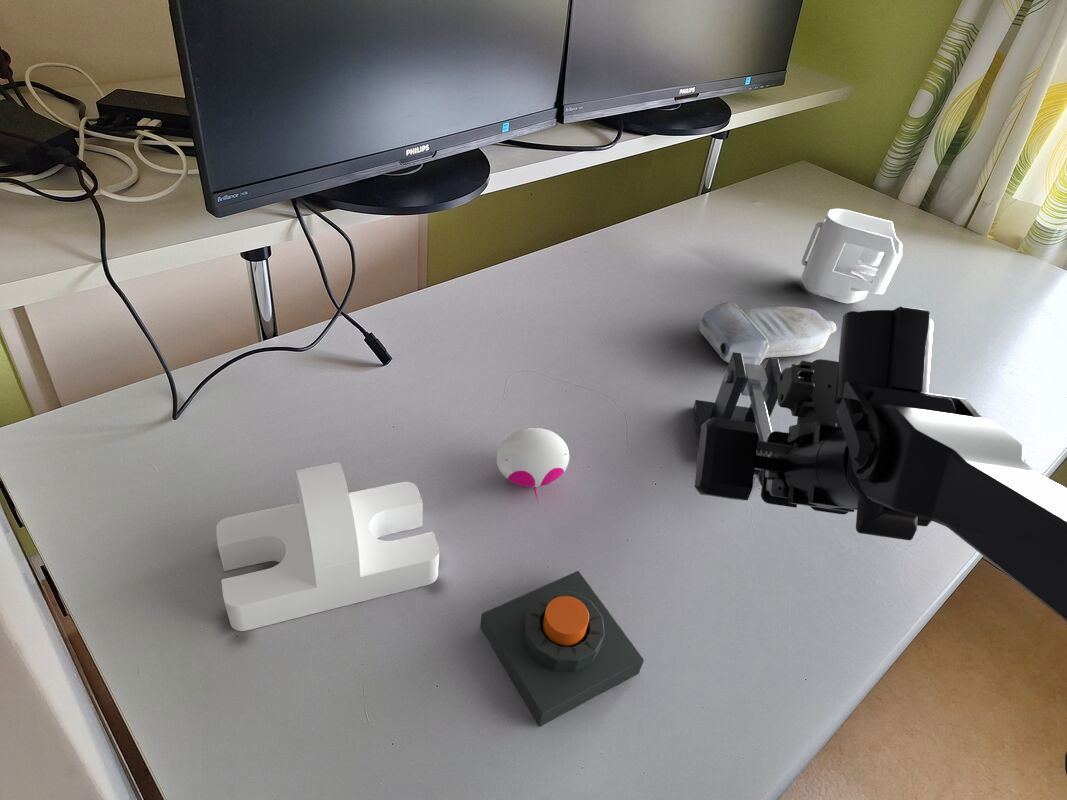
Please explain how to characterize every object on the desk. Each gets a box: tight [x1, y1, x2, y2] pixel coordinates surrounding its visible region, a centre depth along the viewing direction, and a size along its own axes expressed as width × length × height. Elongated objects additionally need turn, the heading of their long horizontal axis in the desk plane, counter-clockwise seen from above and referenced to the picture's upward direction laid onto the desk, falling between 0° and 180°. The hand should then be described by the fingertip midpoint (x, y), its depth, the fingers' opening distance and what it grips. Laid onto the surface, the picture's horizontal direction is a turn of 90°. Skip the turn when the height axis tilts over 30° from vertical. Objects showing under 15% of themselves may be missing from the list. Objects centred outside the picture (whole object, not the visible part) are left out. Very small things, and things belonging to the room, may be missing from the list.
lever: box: [740, 363, 773, 487], centre depth 76 cm, size 18×3×3 cm, turn 175°
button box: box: [479, 570, 645, 727], centre depth 64 cm, size 10×10×4 cm
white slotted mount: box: [215, 461, 440, 632], centre depth 66 cm, size 10×18×11 cm, turn 112°
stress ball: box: [496, 427, 570, 505], centre depth 79 cm, size 8×8×7 cm
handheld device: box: [698, 301, 837, 365], centre depth 103 cm, size 10×20×5 cm, turn 109°
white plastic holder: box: [800, 208, 903, 304], centre depth 113 cm, size 7×12×12 cm, turn 69°
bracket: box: [692, 352, 782, 475], centre depth 85 cm, size 10×8×11 cm
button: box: [543, 596, 589, 646], centre depth 62 cm, size 4×4×2 cm
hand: (780, 475), depth 69 cm, fingers closed, pressing on lever
